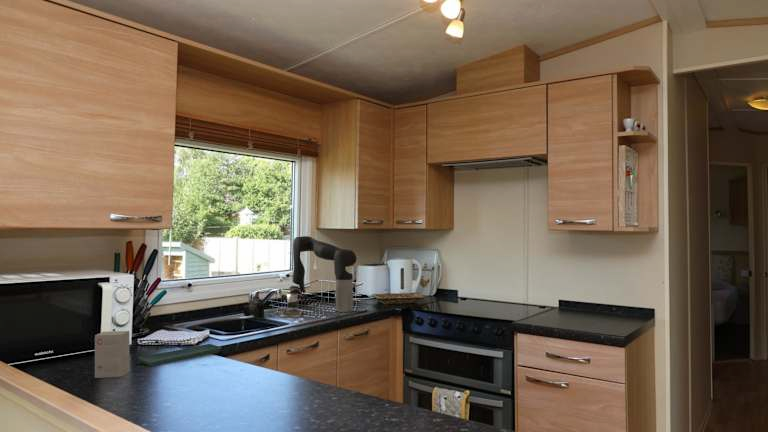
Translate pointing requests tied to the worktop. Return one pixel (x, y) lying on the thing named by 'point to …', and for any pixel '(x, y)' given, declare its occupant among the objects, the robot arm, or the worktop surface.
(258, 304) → the camera
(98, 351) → the small box
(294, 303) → the lens
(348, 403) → the worktop surface
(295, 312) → the mount ring
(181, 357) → the dark green board
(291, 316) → the base board
